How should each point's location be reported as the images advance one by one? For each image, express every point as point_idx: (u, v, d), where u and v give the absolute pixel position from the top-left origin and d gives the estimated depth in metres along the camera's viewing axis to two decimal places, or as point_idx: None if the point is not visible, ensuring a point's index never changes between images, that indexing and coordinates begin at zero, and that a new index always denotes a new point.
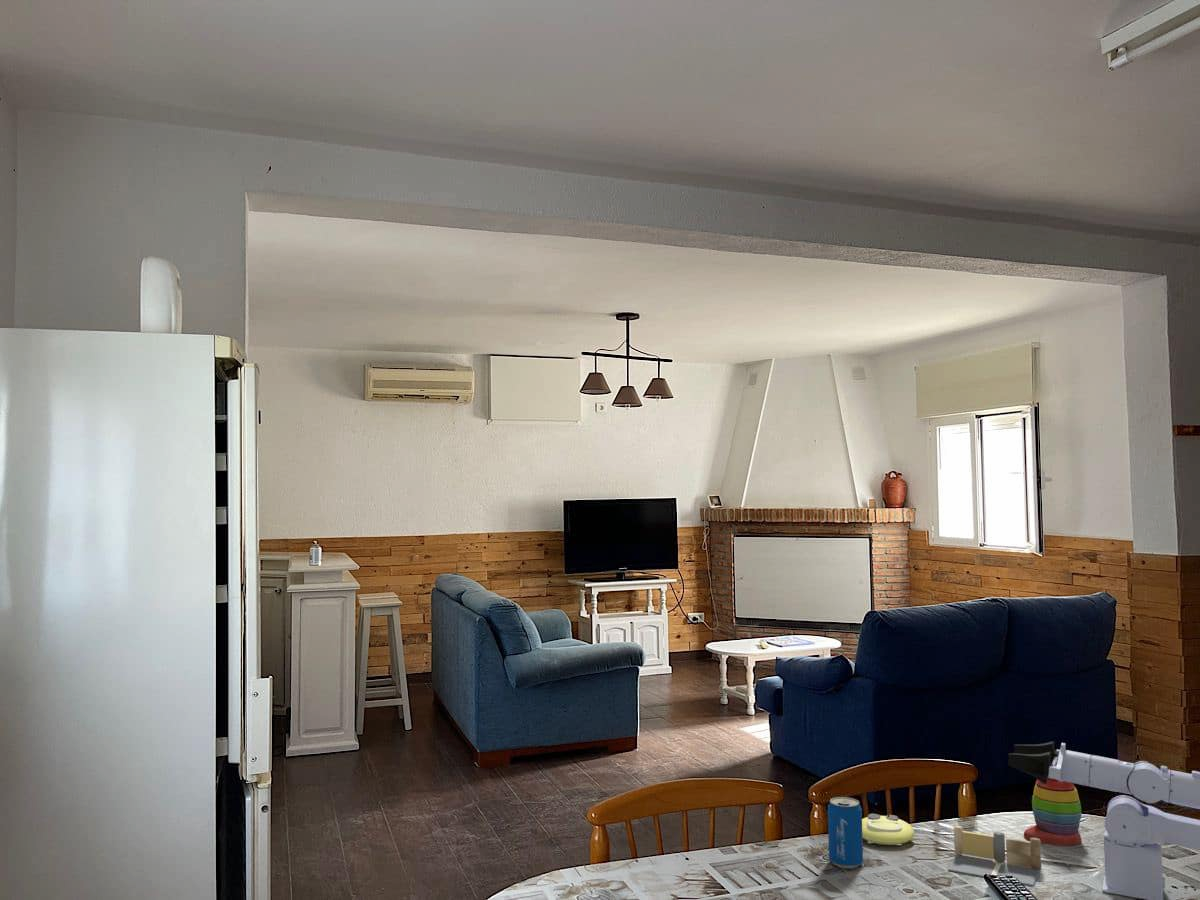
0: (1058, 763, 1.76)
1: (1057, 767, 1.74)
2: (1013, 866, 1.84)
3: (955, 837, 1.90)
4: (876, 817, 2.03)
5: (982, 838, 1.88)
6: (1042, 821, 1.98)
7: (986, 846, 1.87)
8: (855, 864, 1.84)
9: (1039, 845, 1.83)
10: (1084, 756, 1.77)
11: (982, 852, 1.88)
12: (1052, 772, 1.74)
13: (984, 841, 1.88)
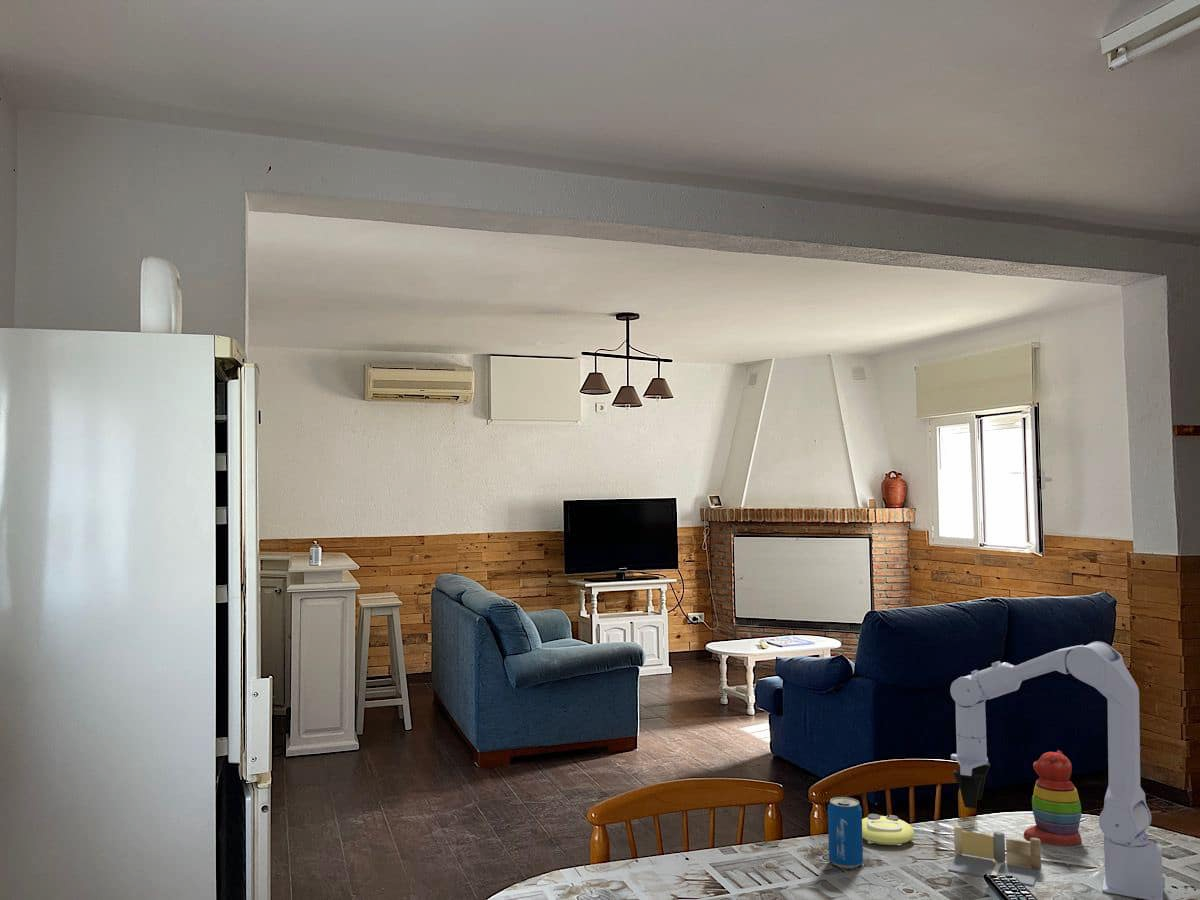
0: (960, 764, 1.91)
1: None
2: (1013, 866, 1.84)
3: (955, 837, 1.90)
4: (876, 817, 2.03)
5: (982, 838, 1.88)
6: (1042, 821, 1.98)
7: (986, 846, 1.87)
8: (855, 864, 1.84)
9: (1039, 845, 1.83)
10: (956, 739, 1.95)
11: (982, 852, 1.88)
12: (964, 772, 1.88)
13: (984, 841, 1.88)
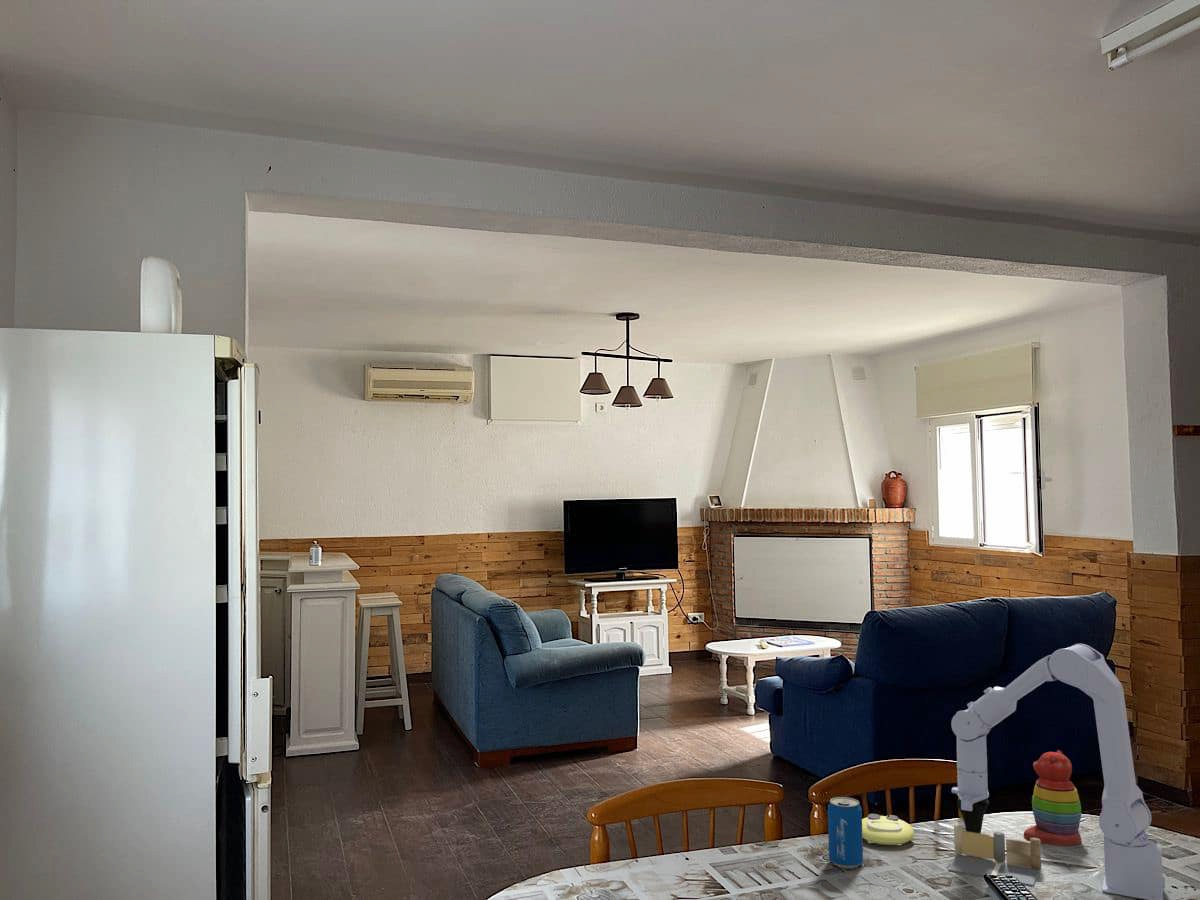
0: (960, 799, 1.91)
1: None
2: (1013, 866, 1.84)
3: (955, 837, 1.90)
4: (876, 817, 2.03)
5: (982, 838, 1.88)
6: (1042, 820, 1.98)
7: (986, 846, 1.87)
8: (855, 864, 1.84)
9: (1039, 845, 1.83)
10: (957, 773, 1.95)
11: (982, 852, 1.88)
12: (965, 807, 1.88)
13: (984, 841, 1.88)
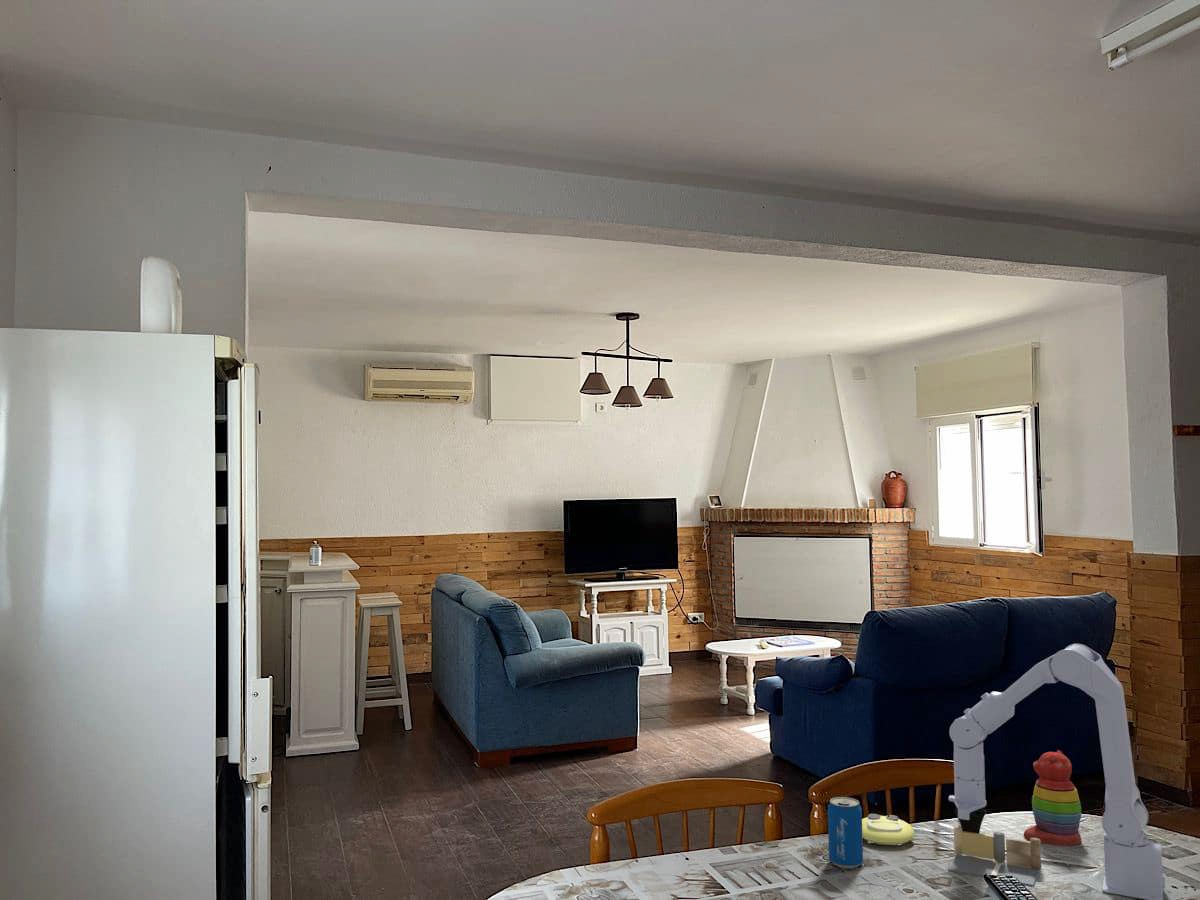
0: (957, 808, 1.87)
1: (958, 810, 1.86)
2: (1013, 866, 1.84)
3: (955, 837, 1.90)
4: (876, 817, 2.03)
5: (982, 838, 1.88)
6: (1042, 821, 1.98)
7: (986, 846, 1.87)
8: (855, 864, 1.84)
9: (1039, 845, 1.83)
10: (954, 781, 1.91)
11: (982, 852, 1.88)
12: (962, 816, 1.85)
13: (984, 841, 1.88)
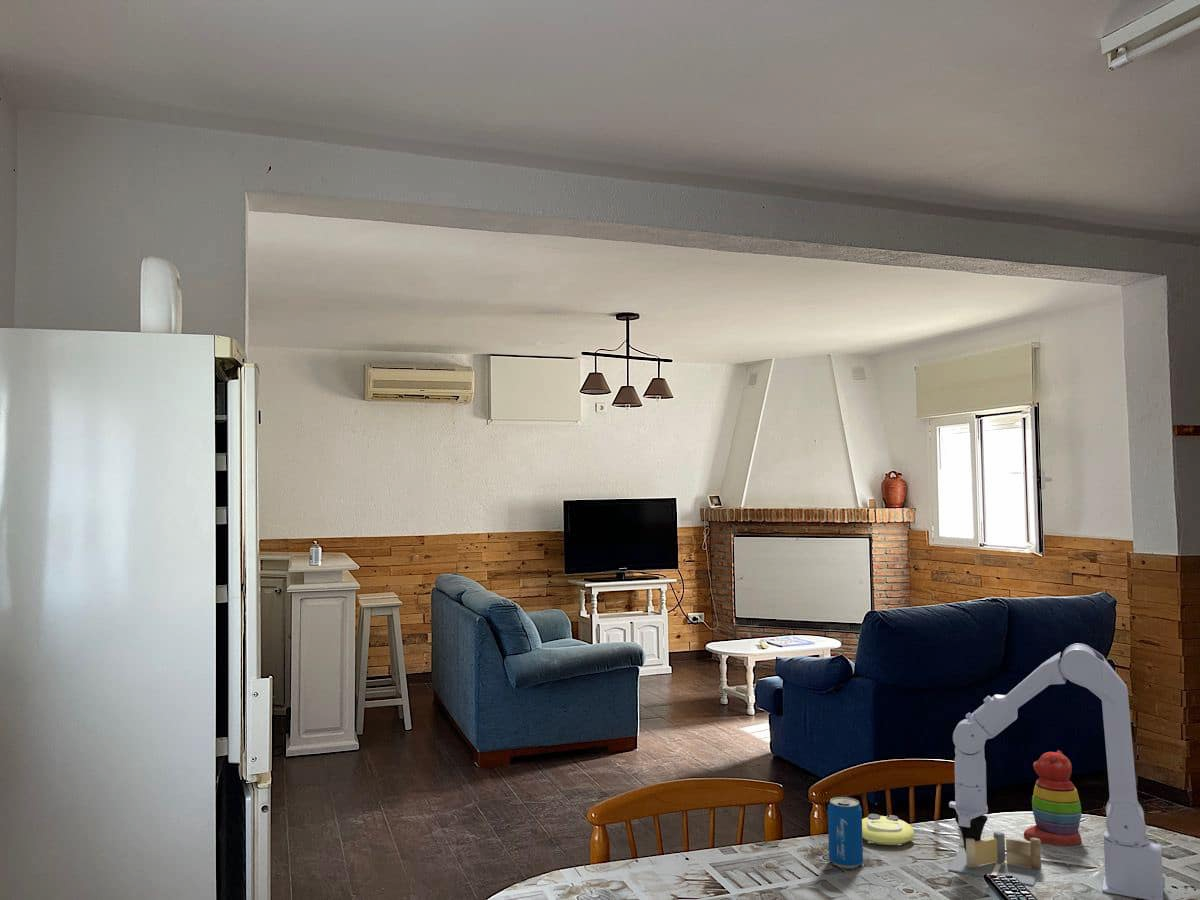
0: (958, 814, 1.83)
1: None
2: (1013, 866, 1.84)
3: (971, 851, 1.83)
4: (876, 817, 2.03)
5: (989, 843, 1.85)
6: (1042, 821, 1.98)
7: (992, 850, 1.85)
8: (855, 864, 1.84)
9: (1039, 845, 1.83)
10: (955, 787, 1.87)
11: (989, 858, 1.85)
12: (963, 823, 1.80)
13: (991, 846, 1.85)
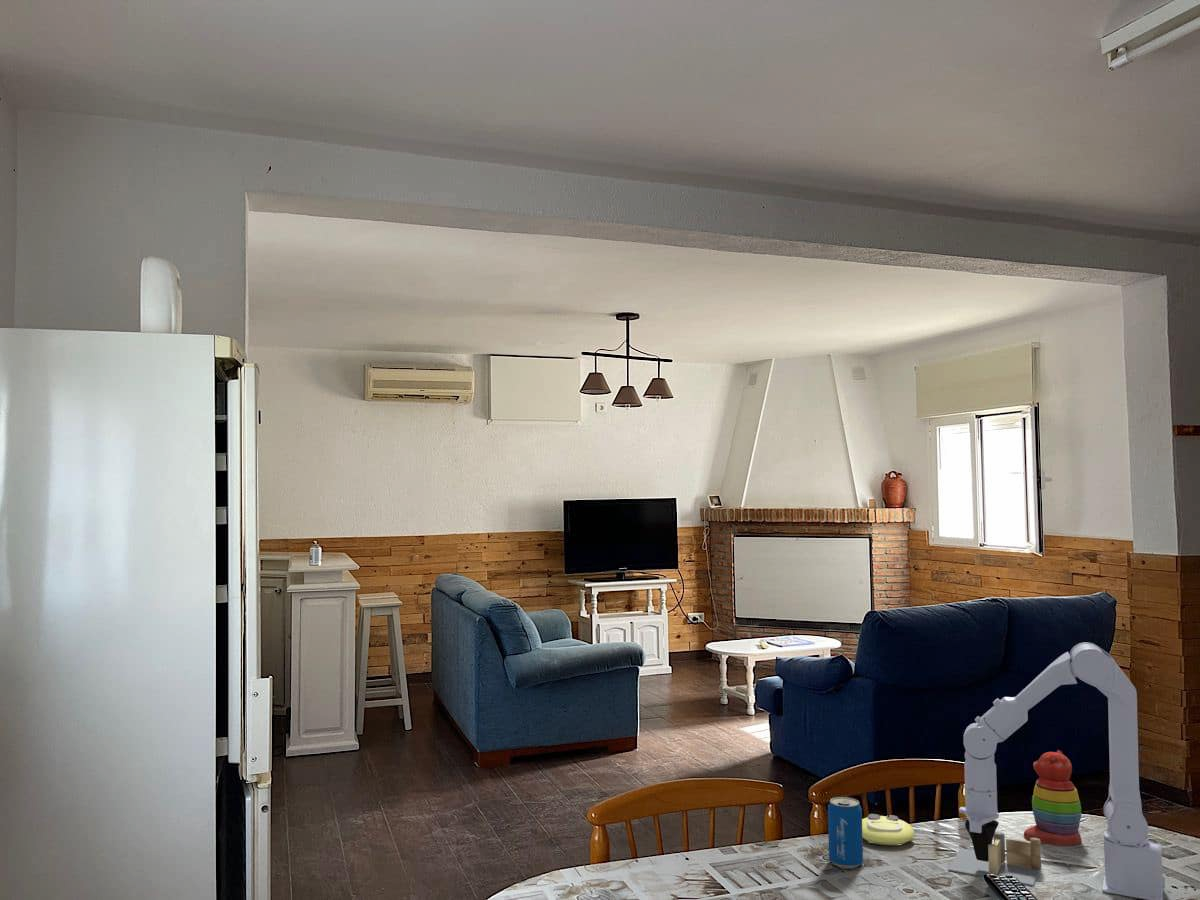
0: (969, 820, 1.80)
1: None
2: (1013, 866, 1.84)
3: (996, 857, 1.79)
4: (876, 817, 2.03)
5: (998, 845, 1.84)
6: (1042, 821, 1.98)
7: (999, 852, 1.84)
8: (855, 864, 1.84)
9: (1039, 845, 1.83)
10: (965, 792, 1.84)
11: (999, 860, 1.84)
12: (974, 829, 1.77)
13: (999, 847, 1.84)
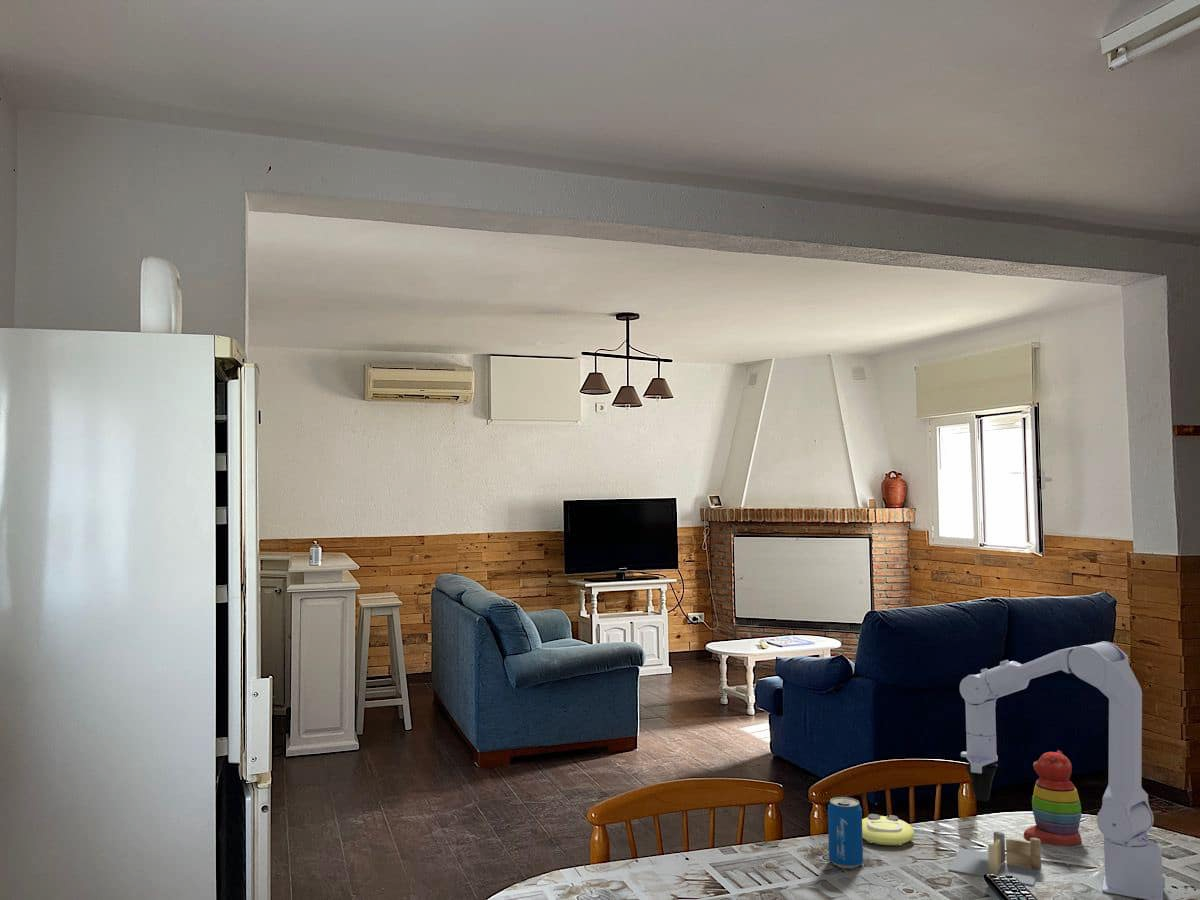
0: (970, 762, 1.93)
1: (971, 764, 1.91)
2: (1013, 866, 1.84)
3: (996, 857, 1.79)
4: (876, 817, 2.03)
5: (999, 845, 1.84)
6: (1042, 821, 1.98)
7: (999, 852, 1.84)
8: (855, 864, 1.84)
9: (1039, 845, 1.83)
10: (966, 737, 1.97)
11: (999, 860, 1.84)
12: (975, 769, 1.90)
13: (999, 847, 1.84)
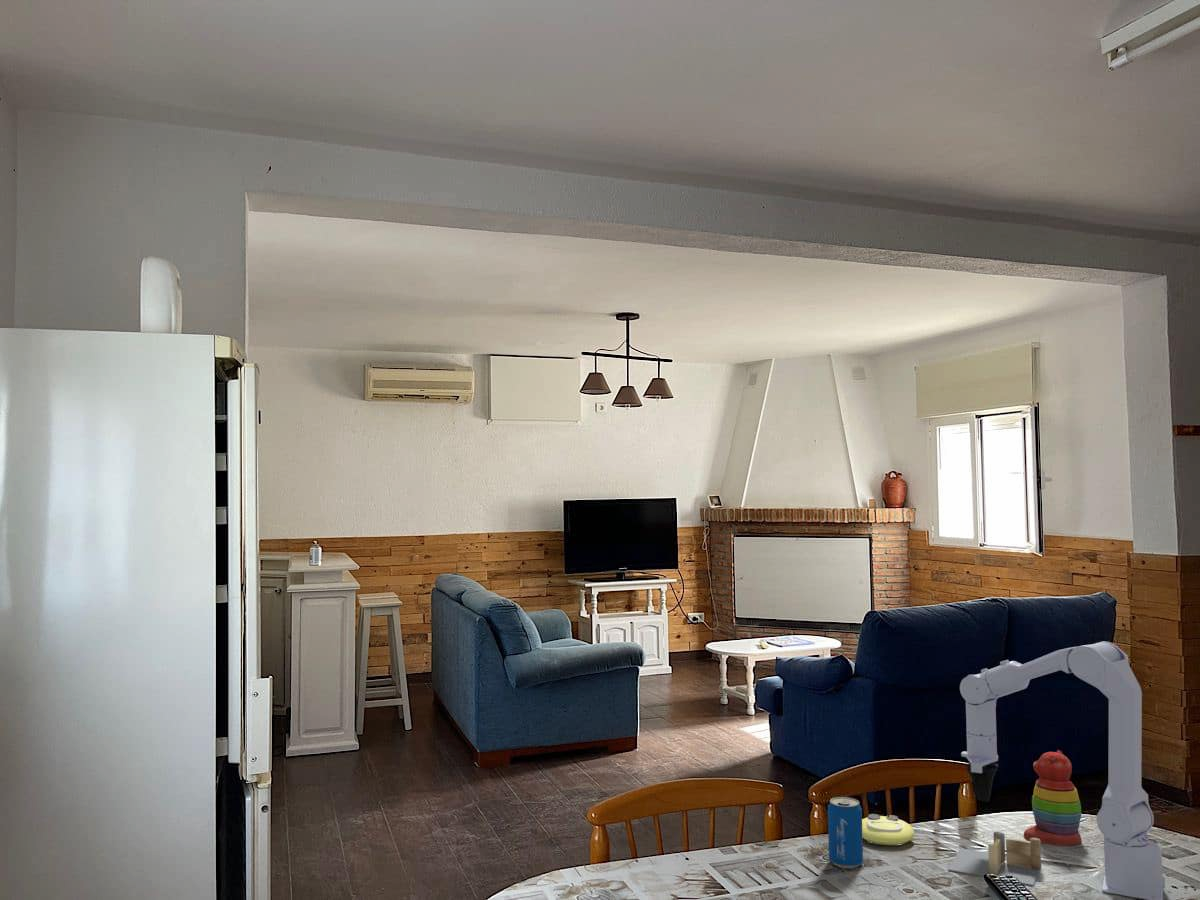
0: (970, 762, 1.93)
1: (971, 764, 1.91)
2: (1013, 866, 1.84)
3: (996, 857, 1.79)
4: (876, 817, 2.03)
5: (999, 845, 1.84)
6: (1042, 821, 1.98)
7: (999, 852, 1.84)
8: (855, 864, 1.84)
9: (1039, 845, 1.83)
10: (967, 737, 1.97)
11: (999, 860, 1.84)
12: (975, 769, 1.90)
13: (999, 847, 1.84)
